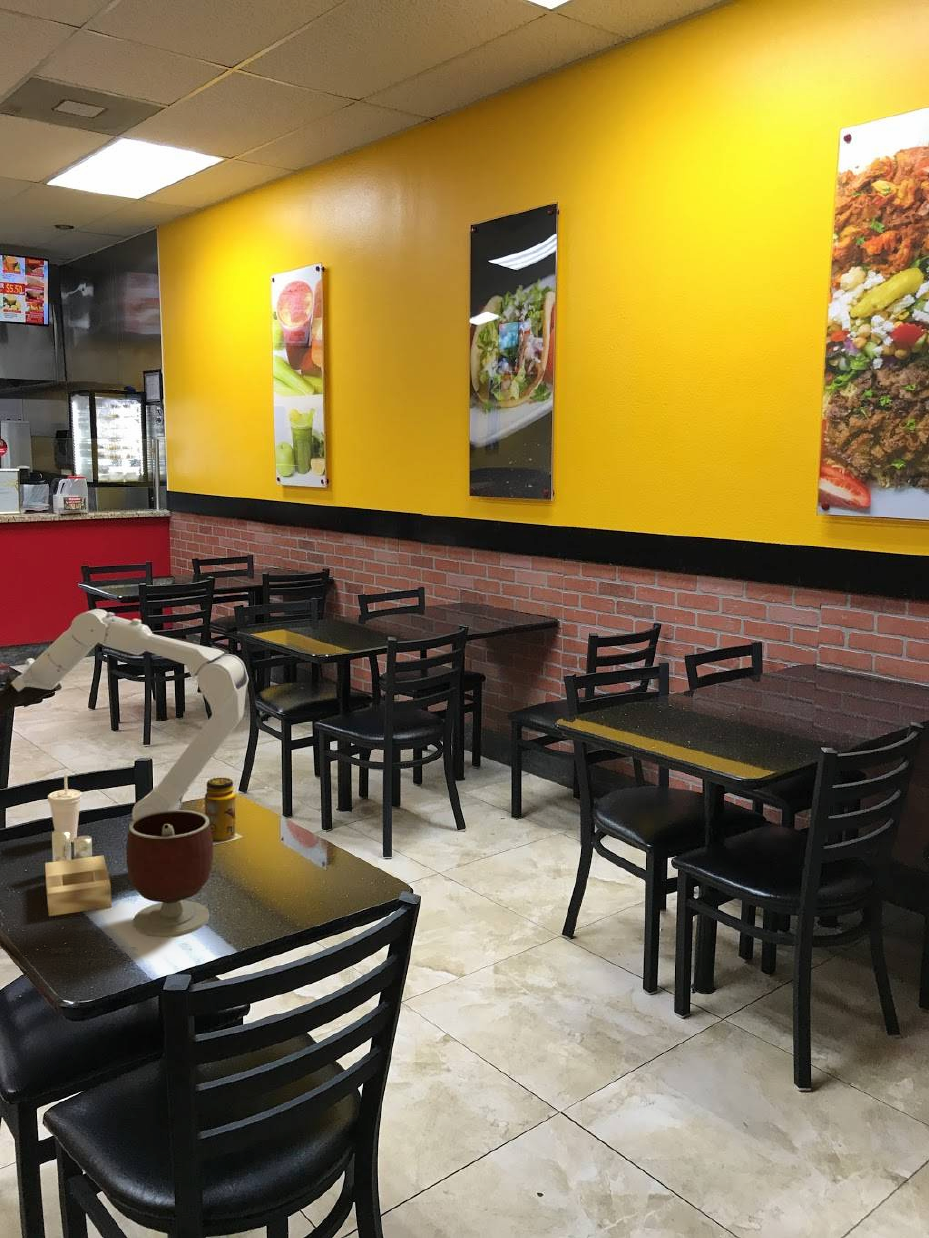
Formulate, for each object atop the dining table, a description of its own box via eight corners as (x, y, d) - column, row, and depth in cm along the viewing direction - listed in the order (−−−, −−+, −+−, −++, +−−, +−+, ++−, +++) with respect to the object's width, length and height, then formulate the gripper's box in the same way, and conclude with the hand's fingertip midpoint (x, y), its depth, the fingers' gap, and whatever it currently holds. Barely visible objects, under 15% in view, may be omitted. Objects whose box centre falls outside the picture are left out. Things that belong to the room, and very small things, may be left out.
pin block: (104, 875, 186) (103, 855, 185) (111, 906, 173) (110, 884, 172) (46, 883, 181) (45, 862, 181) (48, 916, 169) (47, 893, 168)
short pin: (95, 855, 195) (94, 836, 194) (87, 862, 192) (87, 842, 191) (79, 854, 195) (78, 835, 194) (71, 861, 192) (70, 841, 191)
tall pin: (75, 870, 188) (73, 829, 187) (66, 877, 185) (65, 835, 183) (58, 869, 188) (56, 828, 187) (50, 876, 185) (48, 834, 184)
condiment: (243, 837, 206) (243, 781, 204) (207, 847, 200) (206, 790, 198) (225, 827, 211) (224, 773, 209) (188, 837, 205) (187, 781, 204)
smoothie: (60, 848, 198) (58, 780, 196) (42, 840, 202) (40, 773, 199) (89, 839, 203) (87, 773, 201) (72, 831, 207) (69, 766, 204)
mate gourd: (132, 905, 174) (129, 794, 171) (214, 899, 177) (213, 790, 174) (123, 947, 159) (119, 827, 156) (213, 940, 162) (211, 822, 159)
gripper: (66, 638, 191) (18, 684, 193) (23, 647, 176) (-28, 697, 178) (90, 665, 191) (42, 711, 193) (49, 677, 176) (-2, 726, 178)
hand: (10, 706), depth 186 cm, fingers open, 7 cm apart
